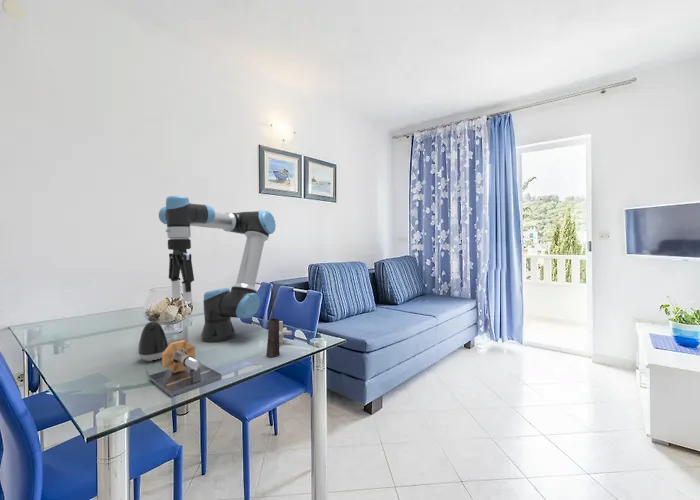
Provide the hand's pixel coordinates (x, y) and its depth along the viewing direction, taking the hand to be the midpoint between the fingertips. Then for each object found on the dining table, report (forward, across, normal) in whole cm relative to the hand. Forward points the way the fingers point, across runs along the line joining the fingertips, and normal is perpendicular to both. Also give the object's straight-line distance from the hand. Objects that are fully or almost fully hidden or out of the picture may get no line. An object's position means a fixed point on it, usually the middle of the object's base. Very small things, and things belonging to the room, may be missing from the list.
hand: (181, 299), depth 119 cm
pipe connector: (+26, +8, +38) cm, 47 cm away
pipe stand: (+25, +12, -4) cm, 28 cm away
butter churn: (+26, +18, +28) cm, 42 cm away
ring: (+23, +7, -5) cm, 25 cm away
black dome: (+26, -18, -4) cm, 32 cm away
